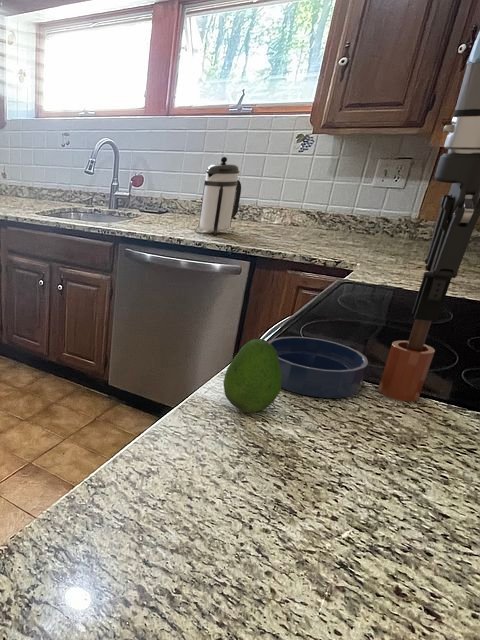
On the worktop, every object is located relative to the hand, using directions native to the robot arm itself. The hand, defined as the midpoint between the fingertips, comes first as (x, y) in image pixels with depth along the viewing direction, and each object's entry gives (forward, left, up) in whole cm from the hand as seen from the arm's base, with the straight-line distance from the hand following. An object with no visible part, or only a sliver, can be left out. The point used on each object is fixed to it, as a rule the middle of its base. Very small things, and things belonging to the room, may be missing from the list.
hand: (424, 316), depth 80 cm
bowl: (+10, -8, -14) cm, 19 cm away
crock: (0, 0, -14) cm, 14 cm away
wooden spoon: (0, 0, -13) cm, 13 cm away
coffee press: (-50, -143, -14) cm, 152 cm away
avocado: (+26, -1, -14) cm, 30 cm away
